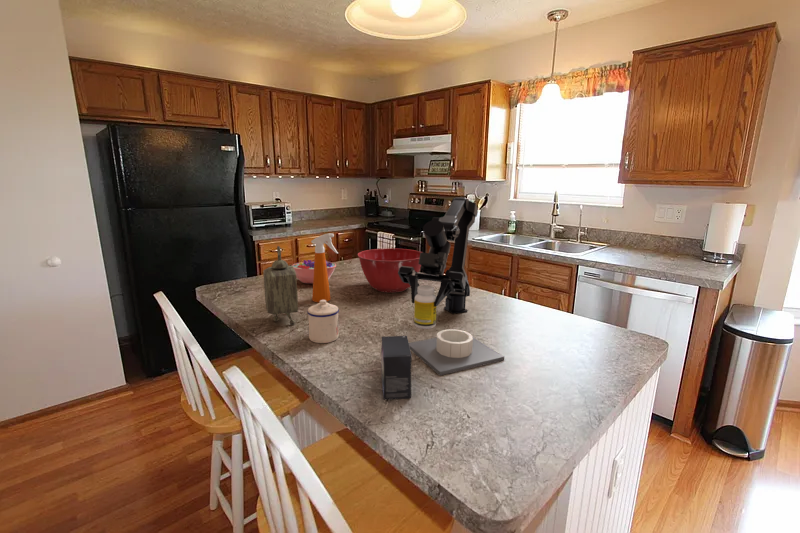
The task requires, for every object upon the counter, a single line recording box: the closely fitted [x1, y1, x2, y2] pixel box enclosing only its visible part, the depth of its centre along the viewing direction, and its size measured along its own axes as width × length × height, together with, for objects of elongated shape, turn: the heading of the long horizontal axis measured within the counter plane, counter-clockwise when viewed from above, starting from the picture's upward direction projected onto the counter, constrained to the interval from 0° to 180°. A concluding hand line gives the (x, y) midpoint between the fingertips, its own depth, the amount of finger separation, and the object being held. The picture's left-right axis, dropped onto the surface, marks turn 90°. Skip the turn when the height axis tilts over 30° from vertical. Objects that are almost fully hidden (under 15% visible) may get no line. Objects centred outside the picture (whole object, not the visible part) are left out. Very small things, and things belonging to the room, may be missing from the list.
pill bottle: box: [413, 284, 438, 330], centre depth 106 cm, size 6×6×11 cm
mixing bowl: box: [357, 248, 423, 294], centre depth 164 cm, size 28×28×16 cm
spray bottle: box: [310, 232, 339, 304], centre depth 145 cm, size 7×11×26 cm, turn 80°
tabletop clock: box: [262, 245, 299, 326], centre depth 124 cm, size 14×9×25 cm, turn 23°
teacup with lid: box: [307, 300, 340, 344], centre depth 114 cm, size 12×9×12 cm
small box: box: [380, 335, 413, 401], centre depth 87 cm, size 11×6×10 cm, turn 5°
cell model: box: [291, 259, 337, 285], centre depth 172 cm, size 17×20×11 cm
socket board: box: [409, 328, 505, 377], centre depth 105 cm, size 20×18×5 cm
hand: (423, 304), depth 104 cm, fingers closed on pill bottle, 6 cm apart
